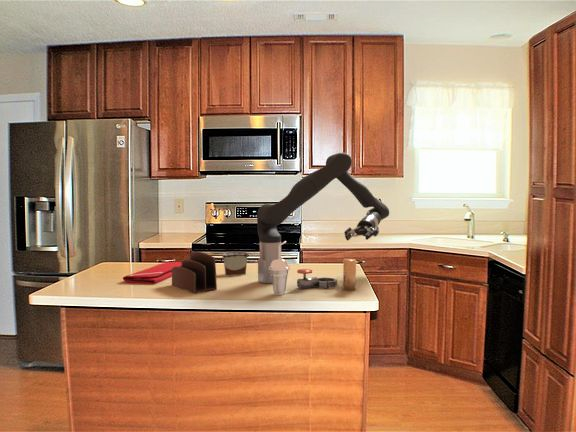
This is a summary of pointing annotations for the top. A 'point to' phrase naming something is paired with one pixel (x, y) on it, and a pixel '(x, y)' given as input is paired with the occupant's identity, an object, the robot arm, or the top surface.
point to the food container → (235, 263)
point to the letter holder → (196, 273)
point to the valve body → (314, 281)
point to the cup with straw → (279, 274)
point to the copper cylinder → (349, 274)
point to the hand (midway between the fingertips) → (356, 237)
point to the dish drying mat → (152, 274)
